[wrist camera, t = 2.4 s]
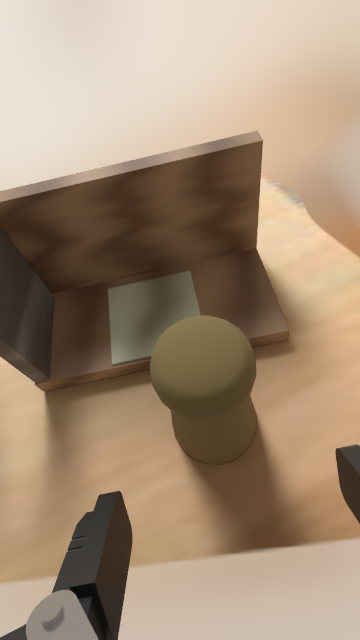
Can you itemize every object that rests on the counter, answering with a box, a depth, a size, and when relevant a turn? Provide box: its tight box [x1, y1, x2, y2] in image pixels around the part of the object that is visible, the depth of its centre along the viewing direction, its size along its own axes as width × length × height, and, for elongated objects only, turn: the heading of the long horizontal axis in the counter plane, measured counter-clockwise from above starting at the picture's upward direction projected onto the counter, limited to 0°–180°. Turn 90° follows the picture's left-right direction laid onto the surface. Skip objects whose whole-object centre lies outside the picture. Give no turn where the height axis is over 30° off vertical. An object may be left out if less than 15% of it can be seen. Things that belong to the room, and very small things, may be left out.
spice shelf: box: [0, 131, 289, 392], centre depth 25 cm, size 20×10×12 cm, turn 100°
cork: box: [150, 316, 257, 464], centre depth 20 cm, size 6×6×11 cm
